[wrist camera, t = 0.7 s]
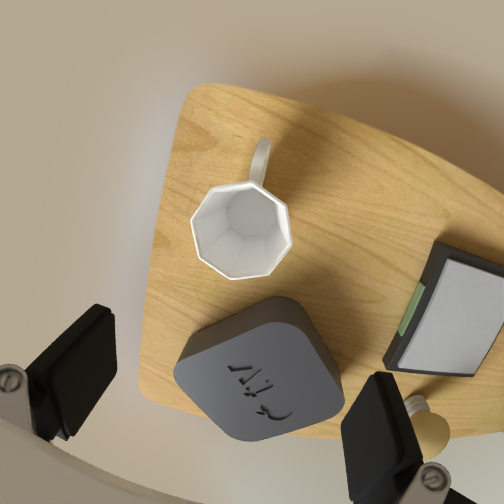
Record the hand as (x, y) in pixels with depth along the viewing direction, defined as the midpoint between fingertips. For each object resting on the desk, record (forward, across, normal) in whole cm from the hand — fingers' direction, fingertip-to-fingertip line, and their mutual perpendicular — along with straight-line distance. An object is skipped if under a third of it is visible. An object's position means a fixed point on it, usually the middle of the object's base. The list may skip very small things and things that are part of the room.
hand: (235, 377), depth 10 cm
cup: (+19, +2, -3) cm, 20 cm away
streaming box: (+19, -3, +15) cm, 25 cm away
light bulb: (+19, -25, +18) cm, 36 cm away
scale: (+19, -24, +4) cm, 31 cm away
